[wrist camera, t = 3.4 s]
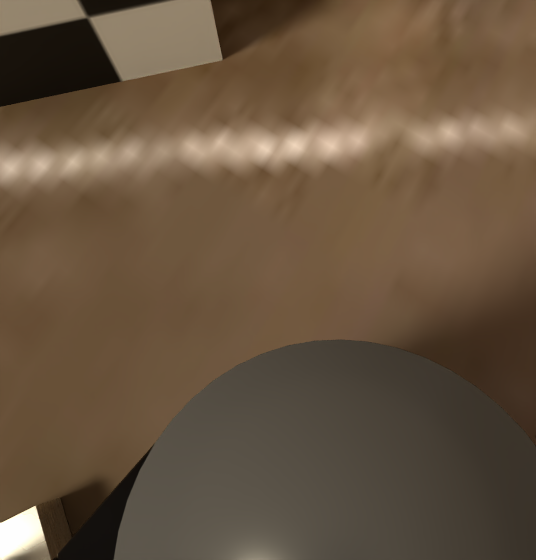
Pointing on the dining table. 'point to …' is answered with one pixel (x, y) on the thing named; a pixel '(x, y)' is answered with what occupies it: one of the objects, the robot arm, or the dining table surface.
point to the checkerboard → (98, 43)
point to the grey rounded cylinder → (335, 465)
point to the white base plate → (35, 533)
